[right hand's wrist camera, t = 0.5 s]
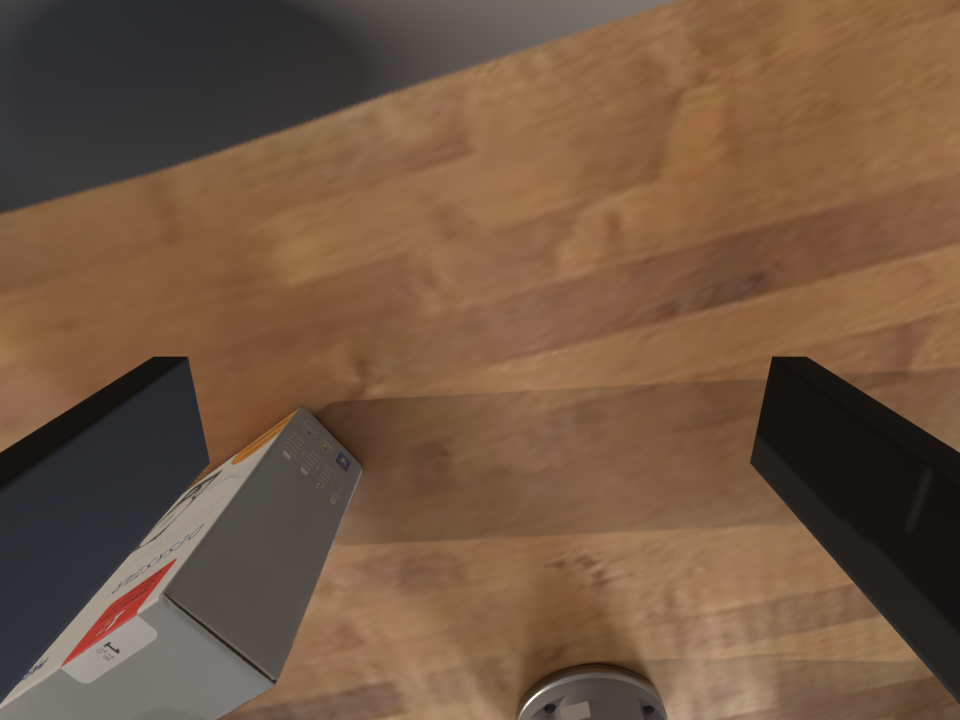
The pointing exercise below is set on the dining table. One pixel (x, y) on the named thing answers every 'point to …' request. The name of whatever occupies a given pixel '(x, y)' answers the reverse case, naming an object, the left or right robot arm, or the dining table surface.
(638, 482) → the dining table surface
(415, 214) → the dining table surface
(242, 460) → the hard drive box
